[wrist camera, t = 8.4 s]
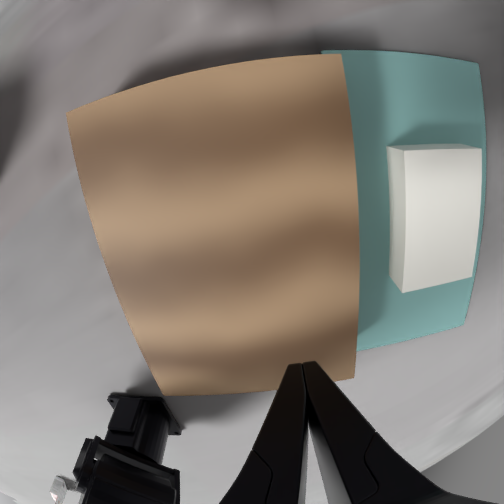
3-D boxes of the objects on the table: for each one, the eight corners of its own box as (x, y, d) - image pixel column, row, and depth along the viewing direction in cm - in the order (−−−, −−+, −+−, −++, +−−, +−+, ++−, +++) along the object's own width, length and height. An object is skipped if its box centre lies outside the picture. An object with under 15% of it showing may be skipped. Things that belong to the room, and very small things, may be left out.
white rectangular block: (402, 293, 18) (388, 274, 20) (471, 276, 18) (454, 261, 20) (403, 150, 15) (386, 146, 17) (481, 148, 14) (460, 143, 16)
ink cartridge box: (59, 485, 48) (49, 513, 39) (55, 474, 43) (43, 506, 34) (68, 490, 48) (58, 518, 39) (65, 479, 44) (53, 511, 35)
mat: (461, 322, 23) (463, 324, 23) (342, 351, 24) (343, 353, 23) (475, 63, 14) (478, 63, 14) (320, 51, 15) (321, 50, 15)
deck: (342, 342, 23) (354, 377, 20) (173, 360, 24) (163, 395, 21) (323, 66, 15) (341, 53, 12) (99, 111, 16) (65, 112, 13)
